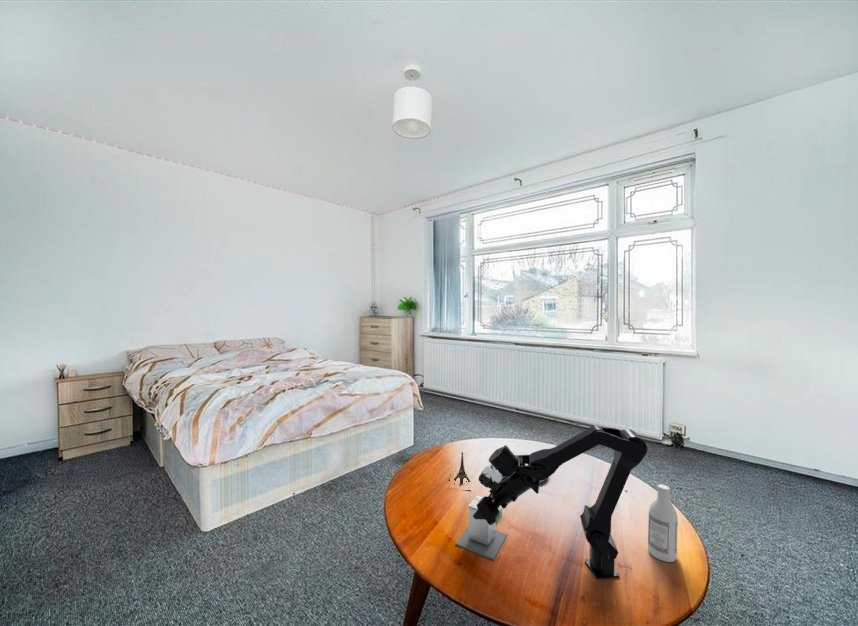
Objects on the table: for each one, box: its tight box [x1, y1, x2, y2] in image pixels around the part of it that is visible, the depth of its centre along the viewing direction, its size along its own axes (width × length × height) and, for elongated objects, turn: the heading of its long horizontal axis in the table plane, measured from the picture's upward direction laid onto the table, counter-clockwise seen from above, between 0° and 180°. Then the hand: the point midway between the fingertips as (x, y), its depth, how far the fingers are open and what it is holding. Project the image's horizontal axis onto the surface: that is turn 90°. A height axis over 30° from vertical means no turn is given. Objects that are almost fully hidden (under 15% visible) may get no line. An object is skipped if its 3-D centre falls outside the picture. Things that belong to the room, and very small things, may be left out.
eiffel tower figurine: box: [454, 451, 472, 486], centre depth 142 cm, size 15×10×13 cm
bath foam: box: [647, 483, 679, 563], centre depth 101 cm, size 7×7×20 cm
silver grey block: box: [467, 495, 497, 545], centre depth 106 cm, size 6×6×10 cm
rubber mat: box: [455, 526, 508, 561], centre depth 106 cm, size 12×12×1 cm
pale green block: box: [496, 506, 503, 523], centre depth 118 cm, size 4×4×3 cm
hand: (478, 511), depth 107 cm, fingers closed on silver grey block, 6 cm apart
